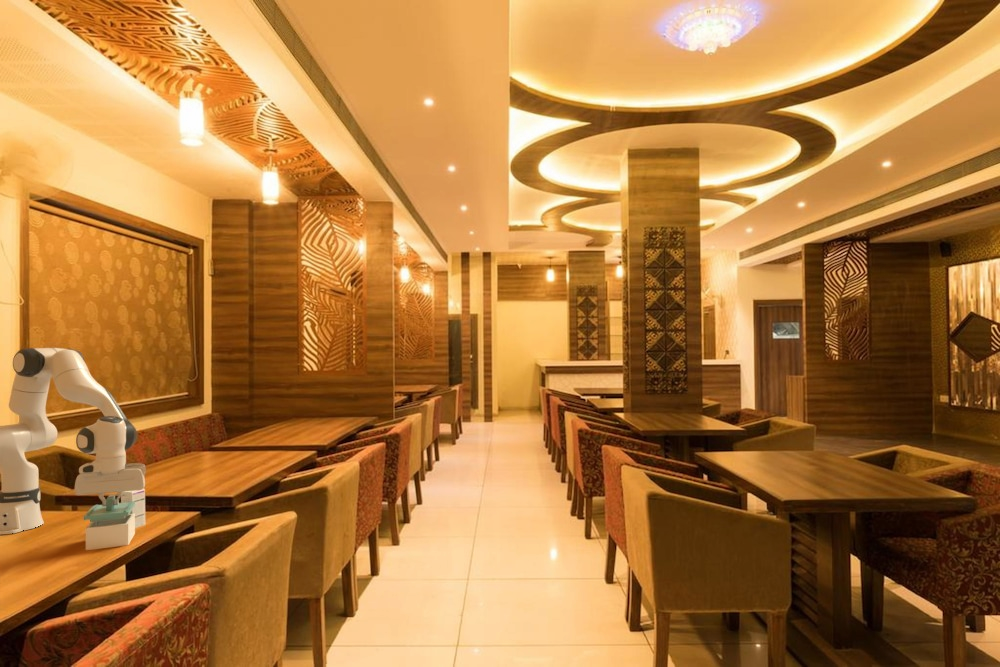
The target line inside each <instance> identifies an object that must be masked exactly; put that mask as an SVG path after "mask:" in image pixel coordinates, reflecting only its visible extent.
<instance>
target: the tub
mask: <svg viewBox="0 0 1000 667" xmlns="http://www.w3.org/2000/svg"><path fill="white" fill-rule="evenodd" d="M135 535H136V528H135V514H129V515H128V516H125V518H124V519H115V520H105V521H95V522H89V524H88V525H87V526H86V527H85V551H91V550H98V549H99V550H100V549H106V548H107V549H108V548H115V547H123V546H124V547H125V546H129V545H130V543H131V541H132V539H133V538H134V536H135Z"/></svg>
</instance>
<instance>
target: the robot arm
mask: <svg viewBox="0 0 1000 667" xmlns="http://www.w3.org/2000/svg"><path fill="white" fill-rule="evenodd" d="M12 368H13V371H14V372H15V376H14V377H13V378H14V379H13V382H12V386H11V391H10V396H9V399H8V400H9V402H8V408H9V410H10V411H11V412H12V413H14V414H16V415H17V416H19V421H18V423H14V424H6V425H0V480H1V481H0V482H1V484H0V485H1V490H0V536H1V535H12V533H13V534H16V533H20V532H23V530H24V531H28V530H32V529H36V528H38V526H39V527H40V525H41V526H43V525H44V524H45V522H44V519H43V517H42V512H41V507H40V501H41V487H40V486H39V485H40V484H39V478H40V477H39V474H40V473H39V467H38V466H37V465H36V464H35V463H33V462H30V461H28V459H27V458H26V456H25V453H27V452H32V451H39V450H42V449H45V448H47V447H50V446H52V445H54V444H55V442H56V441H57V438H58V434H59V432H58V429H57V427H56V426H55V425H54V424H53V423H52V422H51V421H50V420H49V418H48V415H47V411H46V408H47V407H46V406H47V400H48V394H49V391H50V383H51V380H53V383H54V386H55V389H56V391H57V392H58V394H59V395H60V396H61V397H62V398H63V399H65V400H67V401H70V402H74V403H79V404H84V405H89V406H93V407H95V408H97V409H98V410H100V411H101V412H102V414H103V416H102V417H99V418H98V419H97V420H96V422H94V423H92V424H91V425H88V426H85V427H83V428H81V429H80V430H79V432H77V435H76V439H75V440H76V441H75V442H76V443H75V444H76V447H77V449H78V450H79V451H80V452H81V453H82V454H86V455H87V454H89V455H90V454H91V455H92V454H95V458H94V459H95V460H93V461H90V462H86V463H84V464H83V465H81V466H80V467H79V468H78V473H79V474H78V475H77V477H76V479H75V482H74V494H75V495H76V496H85V495H86V496H87V495H97V494H98V498H99V500H100V501H101V502H102V503H101V505H102V506H106V497H104V496H105V494H109V493H116V496H117V497H116V498H115V499H114V500H113V505H118V504H119V503H120V502H119V501H120V499H121V495H122V494H123V491H134V490H142V489H145V486H146V480H145V475H146V472H147V468H146V467H147V466H146V465H145V464H144V463H141V462H134V463H133V462H129V463H127V453H126V452H127V450H130V448H132V446H134V444H135V443H136V442H137V440H138V439H137V438H138V431H137V429H136V427H135V426H134V425H133V423H132V422H130V420H129V419H128V418H127V416H126V415H125V414H124V412H123V410H122V408H120V406H119V404H118V402H117V401H116V399H115V398H114V396H113V395H112V393H111V392H110V391H109V389H107V387H104V386H103V385H101V384H100V383H98V382H97V380H96V379H95V378H94V377H93V376H92V375H91V373H90V370H89V367H88V365H87V364H86V362H85V359H84V355H83V354H82V352H81V351H80V350H77V349H73V348H63V347H62V348H61V347H36V348H35V347H34V348H33V347H29V348H22V349H19V350H18V351H17V352H16V353H15V354H14V357H13V359H12ZM42 524H43V525H42ZM35 527H36V528H35Z"/></svg>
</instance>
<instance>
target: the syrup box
mask: <svg viewBox="0 0 1000 667" xmlns="http://www.w3.org/2000/svg"><path fill="white" fill-rule="evenodd" d="M120 500H121V501H120V503H127V502H130V501H133V502H135V506H134V508H133V509H132V511H131V512H130V514H135V529H136V528H139V527H143V526H145V525H146V489H145V488H143V489H142V490H134V491H123V494H122V495H121V497H120ZM146 526H147V525H146Z"/></svg>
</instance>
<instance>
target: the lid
mask: <svg viewBox="0 0 1000 667" xmlns="http://www.w3.org/2000/svg"><path fill="white" fill-rule="evenodd" d="M114 499H116V494H109V495H108V496H107V498H105V500H106V506H102V504H95V505H93V506H91V508H90V509H89V510H88V511H87V512H86V513H85V514H84V515H83V521H87V520H89V523H91V522H95V521H105V520H115V519H124V518H125V516H128V515H129V514H130V512H131V511H132V509H133V508H134V506H135V502H133V501H130V502H127V503H121V502H119V504H118V505H113V500H114Z"/></svg>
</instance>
